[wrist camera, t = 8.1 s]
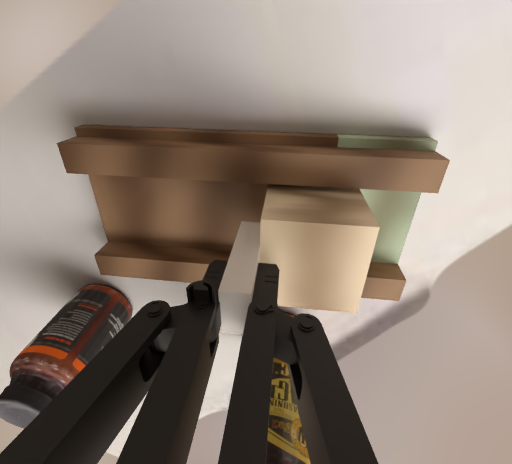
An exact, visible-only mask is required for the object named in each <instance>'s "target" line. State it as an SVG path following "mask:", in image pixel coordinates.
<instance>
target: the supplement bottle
mask: <svg viewBox="0 0 512 464" xmlns="http://www.w3.org/2000/svg"><path fill="white" fill-rule="evenodd" d="M131 316H132V309H131V306H130V303H129V302H128V300H127V299H126V298H125V297H124V296H123V295H122V294H121V293H119V292H118V291H116V290H114V289H112V288H110V287H107V286H103V285H96V284H95V285H88V286H85V287H83V288H82V289H80V290H79V291H78V292H77V293H76V294H75V295H74V296H73V297H72V298H71V299H70V300H69V301H68V302H67V304H66V305H65V306H64V307H63V308H62V309H61V310H60V311H59V312H58V313H57V314H56V315H55V316H54V317H53V318H52V320H51V321H50V322H49V323H48V324H47V325H46V326H45V327H44V328H43V329H42V330H41V331H40V332H39V333H38V334H37V336H36V337H35V338H34V339H33V340H32V341H31V342H30V343H29V344H28V345H27V346H26V347H25V348H24V349H23V351H22V352H21V353H20V354H19V355H18V356H17V357H16V358H15V360H14V361H13V362H12V364H11V367H10V377H11V382H10V385H9V386H7V387H6V388H5V389H4V391H3V392H2V393H1V395H0V417H1V418H2V419H3V420H5V421H7V422H9V423H11V424H13V425H15V426H18V427H21V428H26V427H27V426H28V425H29V424H30V423H31V422H32V421H33V420H34V418H35V417H36V416H37V415H38V414H39V413H40V412H41V411H42V410H43V409H44V408H45V407H46V406H47V405H48V404H49V403H50V402H51V401H52V400H53V399H54V398H55V397H56V396H57V395H58V394H59V393H60V392H61V391H62V390H63V389H64V388H65V387H66V386H67V385H68V384H69V382H70V381H71V380H72V379H73V378H74V377H75V376H76V375H77V374H78V373H79V372H80V371H81V370H82V369H83V368H84V367H85V366H86V365H87V364H88V363H89V362H90V361H91V360H92V359H93V358H94V357H95V356H96V355H97V354H98V353H99V352H100V351H101V350H102V349H103V348H104V346H105V345H106V344H107V343H108V342H109V341H110V340H111V339H112V338H113V337H114V336H115V335H116V334H117V333H118V332H119V331H120V330H121V329H122V328H123V327H124V326H125V325H126V324H127V323H128V322H129V321H130V319H131Z"/></svg>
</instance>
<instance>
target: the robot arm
mask: <svg viewBox="0 0 512 464" xmlns="http://www.w3.org/2000/svg"><path fill="white" fill-rule="evenodd" d="M260 225H261V222H246V221H241V224H240V227H239V230H238V233H237V236H236V239H235V242H234V245H233V248H232V251H231V254H230V257H229V260H228V261H224V260H214V261H213V262H212V263H210V264H209V266H208V268H207V270H206V273H205V275H204V277H203V280H200V281H196V282H193V283H191V284H190V285H188V287H187V288H186V291H187V298H188V303H186V304H184V305H180V306H174V307H170V306H169V304H168V303H167V302H165V301H160V300H158V301H152V302H150V303H147V304H146V305H145V306H144V307H142V308H141V309H140V310H139V312H138V313H137V314H136V315H135V316H134V317H133V318H132V319H131V320H130V321H129V322H128V323H127V324H126V325H125V326H124V327H123V328H122V329H121V330H120V331H119V332H118V333H117V334H116V335H115V336H114V337H113V338H112V339H111V340H110V341H109V342H108V343H107V344H106V345H105V346H104V348H103V349H102V350H101V351H100V352H99V353H98V354H97V355H96V356H95V357H94V358H93V359H92V360H91V361H90V362H89V363H88V364H87V365H86V366H85V367H84V368H83V369H82V370H81V371H80V372H79V373H78V374H77V375H76V376H75V377H74V378H73V379H72V380H71V381H70V382H69V384H68V385H67V386H66V387H65V388H64V389H63V390H62V391H61V392H60V393H59V394H58V395H57V396H56V397H55V398H54V399H53V400H52V401H51V402H50V403H49V404H48V405H47V406H46V407H45V408H44V409H43V410H42V411H41V412H40V413H39V414H38V415H37V416H36V417H35V418H34V420H33V421H32V422H31V423H30V424H29V425H28V426H27V427H26V428H25V429H24V430H23V431H22V432H21V433H20V434H19V435H18V436H17V437H16V438H15V439H14V440H13V441H12V442H11V443H10V444H9V445H8V446H7V447H6V448H5V449H4V450H3V451H2V452H1V454H0V464H97V463H98V462H99V460H100V459H101V457H102V456H103V455H104V453H105V452H106V450H107V449H108V448H109V446H110V445H111V443H112V442H113V440H114V439H115V438H116V436H117V435H118V433H119V432H120V431H121V429H122V428H123V426H124V425H125V423H126V422H127V421H128V419H129V418H130V416H131V415H132V413H133V412H134V411H135V409H136V408H137V406H138V405H139V404H140V402H141V401H142V399H143V398H144V396H145V395H146V394H147V396H146V398H145V400H144V402H143V405H142V407H141V409H140V411H139V414H138V416H137V418H136V420H135V423H134V425H133V427H132V429H131V432H130V434H129V436H128V438H127V441H126V443H125V445H124V447H123V450H122V452H121V454H120V456H119V459H118V461H117V463H116V464H186V462H187V458H188V454H189V450H190V447H191V443H192V440H193V436H194V432H195V428H196V425H197V421H198V417H199V414H200V410H201V406H202V402H203V399H204V395H205V391H206V388H207V384H208V380H209V376H210V373H211V369H212V365H213V362H214V358H215V354H216V350H217V347H218V343H219V330H220V327H221V333H229V334H239V335H243V336H242V342H241V347H240V352H239V357H238V362H237V367H236V373H235V378H234V383H233V388H232V393H231V399H230V404H229V409H228V414H227V419H226V425H225V430H224V435H223V440H222V445H221V451H220V456H219V461H218V464H266V453H267V439H268V426H269V412H270V398H271V384H272V371H273V358H276V359H278V360H281V361H283V362H285V363H287V367H288V371H289V375H290V379H291V383H292V388H293V392H294V396H295V400H296V404H297V409H298V413H299V417H300V421H301V425H302V429H303V434H304V438H305V442H306V446H307V450H308V455H309V459H310V463H311V464H378V462H377V459H376V457H375V454H374V452H373V449H372V447H371V444H370V442H369V440H368V437H367V435H366V432H365V430H364V427H363V425H362V422H361V420H360V418H359V415H358V413H357V410H356V408H355V405H354V403H353V400H352V398H351V395H350V393H349V391H348V388H347V386H346V383H345V381H344V378H343V376H342V373H341V371H340V369H339V366H338V364H337V361H336V359H335V356H334V354H333V351H332V349H331V346H330V344H329V341H328V339H327V337H326V334H325V332H324V329H323V327H322V324H321V323H320V321H319V320H318V319H317V318H316V317H315V316H313V315H310V314H298V315H296V316H295V317H291V316H289V315H287V314H285V313H283V312H282V311H281V310H280V309H279V307H278V304H277V300H278V285H279V271H280V270H279V268H278V266H277V265H276V264H269V263H260ZM147 392H148V393H147Z"/></svg>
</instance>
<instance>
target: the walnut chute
mask: <svg viewBox="0 0 512 464" xmlns="http://www.w3.org/2000/svg"><path fill="white" fill-rule="evenodd" d="M74 128H75V131H76V135H77V137H74V138H71V139H68V140H65V141H62V142H59V143H57V145H58V148H59V151H60V154H61V157H62V160H63V163H64V166H65V169H66V172H67V173H74V174H88V175H89V178H90V182H91V185H92V189H93V192H94V195H95V199H96V202H97V205H98V209H99V212H100V216H101V219H102V222H103V226H104V229H105V232H106V236H107V239H108V242H107V243H106V244H105V245H104V246H103V247H102V248H101V249H100V250H99V251H98V252H97V253H96V254H95V255H94V256H95V259H96V262H97V265H98V268H99V271H100V274H101V275H110V276H122V277H133V278H144V279H156V280H167V281H178V282H190V283H193V282H196V281H200V280H203V277H204V275H205V273H206V270H207V268H208V266H209V264H210V263H212V262H213V261H214V260H224V261H228V260H229V257H230V254H231V251H232V248H233V245H234V242H235V239H236V236H237V233H238V230H239V227H240V224H241V221H246V222H261V216H262V211H263V206H264V202H265V197H266V192H267V188H268V184H278V185H296V186H315V187H333V188H352V189H360V191H361V193H362V194H363V196H364V198H365V200H366V202H367V204H368V206H369V208H370V210H371V212H372V214H373V215H374V217H375V219H376V221H377V223H378V225H379V227H380V228H379V232H378V236H377V239H376V243H375V247H374V251H373V254H372V258H371V262H370V266H369V269H368V273H367V277H366V280H365V284H364V288H363V292H362V295H361V298H371V299H383V300H394V301H399V299H400V296H401V294H402V291H403V288H404V285H405V283H406V279H405V277H404V275H403V273H402V271H401V269H400V267H399V266H398V262H399V259H400V255H401V252H402V249H403V246H404V243H405V240H406V237H407V234H408V231H409V228H410V225H411V222H412V219H413V216H414V213H415V210H416V207H417V204H418V201H419V198H420V195H421V192H426V193H438V192H439V189H440V186H441V183H442V181H443V178H444V175H445V172H446V169H447V167H448V164H449V161H450V160H448V159H447V158H445V157H444V156H442V155H440V154H439V153H437V152H435V149H436V146H437V143H438V141H436V140H435V139H433V138H423V137H396V136H369V135H342V134H315V133H288V132H261V131H235V130H208V129H181V128H154V127H127V126H100V125H81V126H78V127H74Z"/></svg>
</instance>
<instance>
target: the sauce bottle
mask: <svg viewBox="0 0 512 464" xmlns="http://www.w3.org/2000/svg"><path fill="white" fill-rule="evenodd" d="M283 313H285V312H283ZM285 314H286V313H285ZM287 315H289V316H291V317H295V316H293V315H290V314H287ZM266 464H311V463H310V459H309V455H308V450H307V446H306V442H305V438H304V434H303V429H302V425H301V421H300V417H299V413H298V409H297V404H296V400H295V396H294V392H293V388H292V383H291V379H290V375H289V371H288V367H287V363H285V362H283V361H281V360H278V359H276V358H273V371H272V384H271V398H270V412H269V426H268V439H267V453H266Z"/></svg>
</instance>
